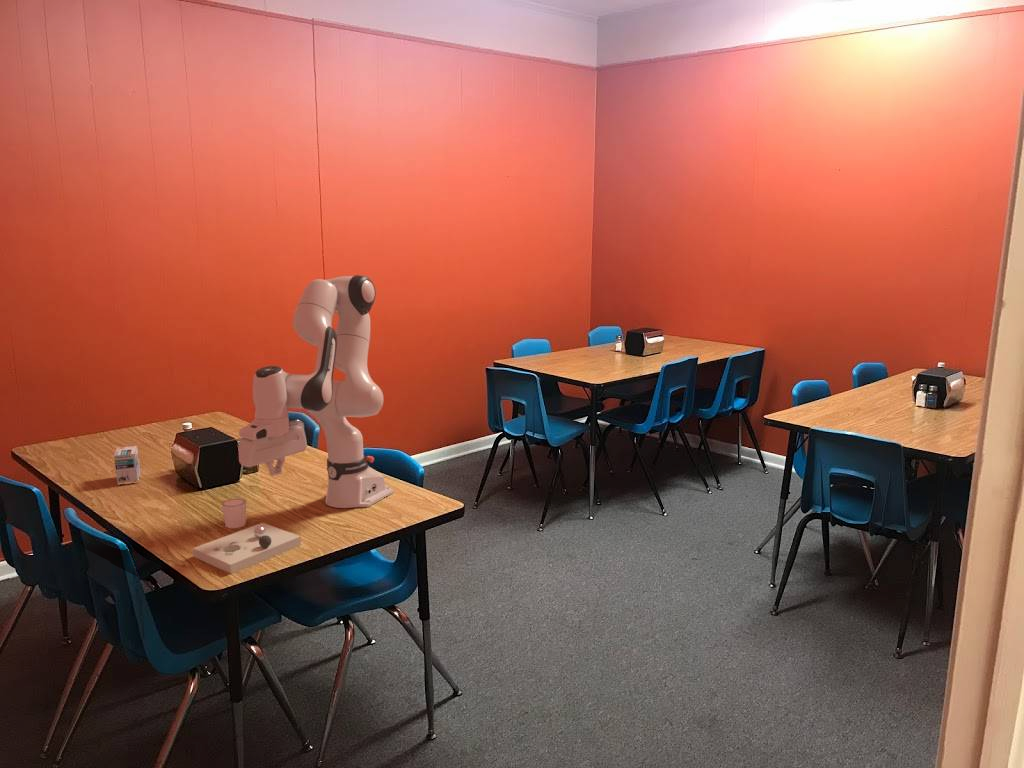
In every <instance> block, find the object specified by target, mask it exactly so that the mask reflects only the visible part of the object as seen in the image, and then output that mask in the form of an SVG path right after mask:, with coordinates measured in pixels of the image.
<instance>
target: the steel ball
mask: <svg viewBox="0 0 1024 768" xmlns="http://www.w3.org/2000/svg"><path fill="white" fill-rule="evenodd" d="M265 534H266V530H265V528H264V527H262V526H258V527H256V528H255V529H254V535H255V537H257V538H261V537H262V536H264V535H265Z"/></svg>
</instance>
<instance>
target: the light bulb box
mask: <svg viewBox="0 0 1024 768" xmlns="http://www.w3.org/2000/svg"><path fill="white" fill-rule="evenodd" d="M113 458H114V467H115V468H114V469H115V474H116V482H117V483H125V482H136V481H138V480H139V481H140V479H139V476H140V477H141V475H140V474H141V466H140V459H139V450H138V445H132V446H121V447H120V446H118V447H116V449H115V452H114V455H113Z"/></svg>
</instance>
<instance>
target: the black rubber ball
mask: <svg viewBox="0 0 1024 768" xmlns="http://www.w3.org/2000/svg"><path fill="white" fill-rule="evenodd" d="M259 544H260V546H261V547H268V546H269V545H270V544H271V538H270V537H269V536H267V535H264V536H262V537H261V538H260V539H259Z"/></svg>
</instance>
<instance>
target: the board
mask: <svg viewBox="0 0 1024 768" xmlns="http://www.w3.org/2000/svg"><path fill="white" fill-rule="evenodd" d="M258 526H262V527H264V528H265V530H266V534H265V535H267V536H269V537H270V538H271V544H270V545H269V546H268V547H261V546H260V544H259V539H260V538H257V537H255V535H254V529H255V528H256V527H258ZM301 545H302V538H301V535H297V534H294V533H293V532H290V531H286V530H285V529H281V528H279V527H276V526H273V525H270V524H268V523H265V522H260V523H258V524H255V525H253V526H249V527H246V528H245V529H244V528H243V529H242V530H238V531H236V532H234V533H230V534H228V535H225V536H222V537H220V538H217V539H214V540H212V541H209V542H206V543H203V544H201V545H197V546H196V547H193V548H192V551H193V553H192V554H193V558H195V559H197V560H200V561H202V562H204V563H206V564H209V565H210V566H213V567H216V568H217V569H220V570H221V571H224V572H226V573H229V574H230V575H231V574H232V575H233V574H235V573H237V572H239V571H242V570H244V569H246V568H249V567H251V566H254V565H256V564H259V563H261V562H263V561H265V560H268V559H270V558H273V557H275V556H278V555H280V554H283V553H285V552H287V551H289V550H293V549H296V548H297V547H300V546H301Z"/></svg>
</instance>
